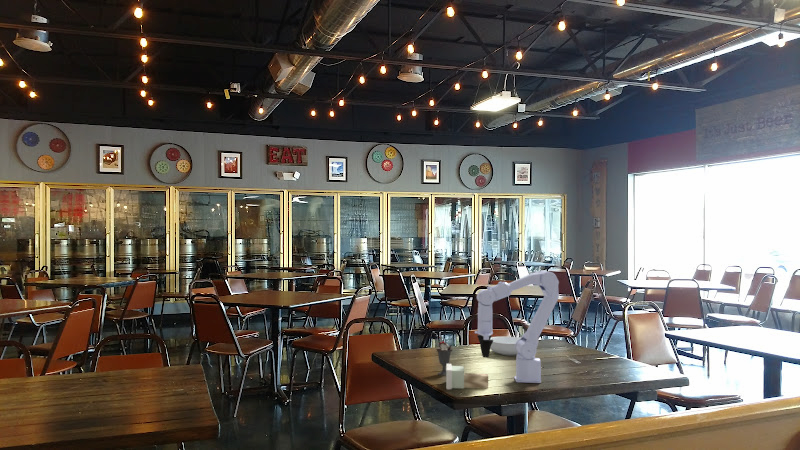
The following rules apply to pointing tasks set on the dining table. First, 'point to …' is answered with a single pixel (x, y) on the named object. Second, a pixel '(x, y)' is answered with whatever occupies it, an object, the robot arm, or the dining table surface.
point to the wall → (449, 376)
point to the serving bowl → (504, 345)
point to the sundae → (444, 355)
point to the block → (457, 376)
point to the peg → (475, 380)
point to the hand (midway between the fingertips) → (484, 355)
